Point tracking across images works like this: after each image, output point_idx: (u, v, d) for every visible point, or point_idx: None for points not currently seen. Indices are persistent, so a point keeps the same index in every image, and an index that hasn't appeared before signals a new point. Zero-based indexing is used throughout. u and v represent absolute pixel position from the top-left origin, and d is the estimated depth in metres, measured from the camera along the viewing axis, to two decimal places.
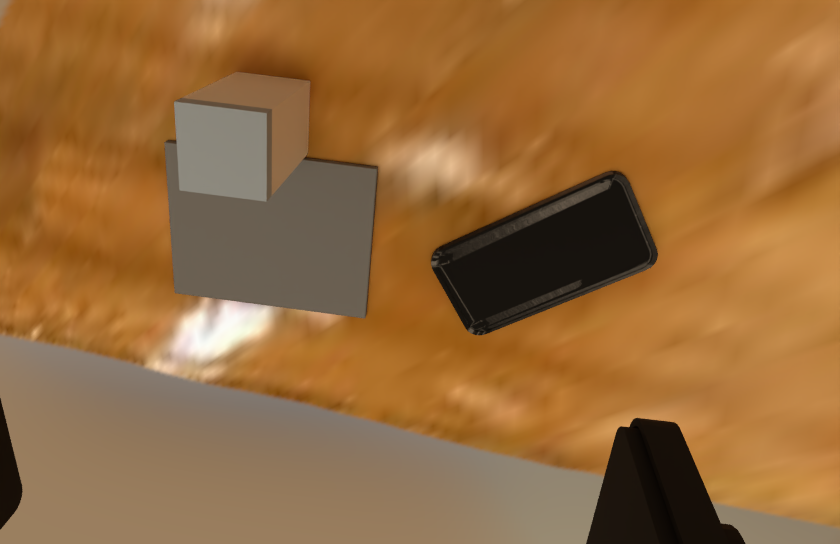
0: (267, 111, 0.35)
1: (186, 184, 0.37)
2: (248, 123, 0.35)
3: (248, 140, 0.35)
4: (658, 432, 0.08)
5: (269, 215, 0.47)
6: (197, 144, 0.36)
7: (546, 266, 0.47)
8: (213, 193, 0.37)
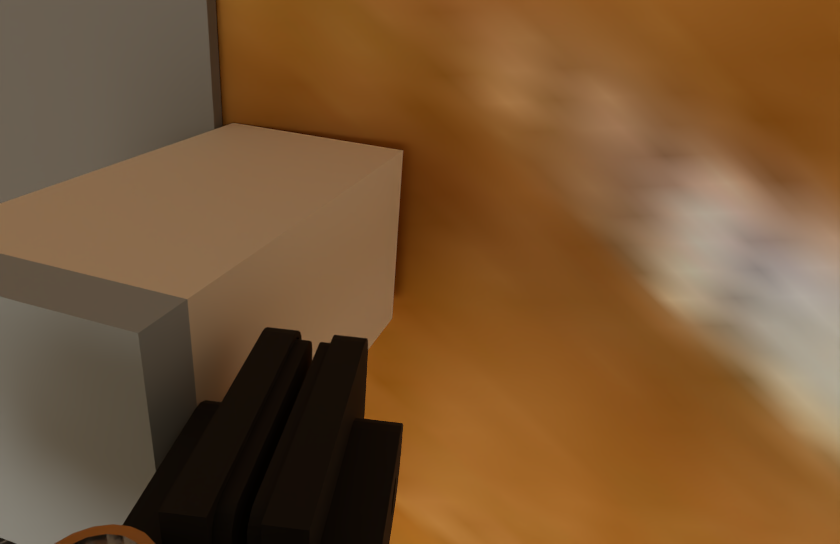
0: None
1: None
2: None
3: (80, 527, 0.10)
4: (343, 344, 0.10)
5: None
6: (17, 368, 0.09)
7: None
8: None
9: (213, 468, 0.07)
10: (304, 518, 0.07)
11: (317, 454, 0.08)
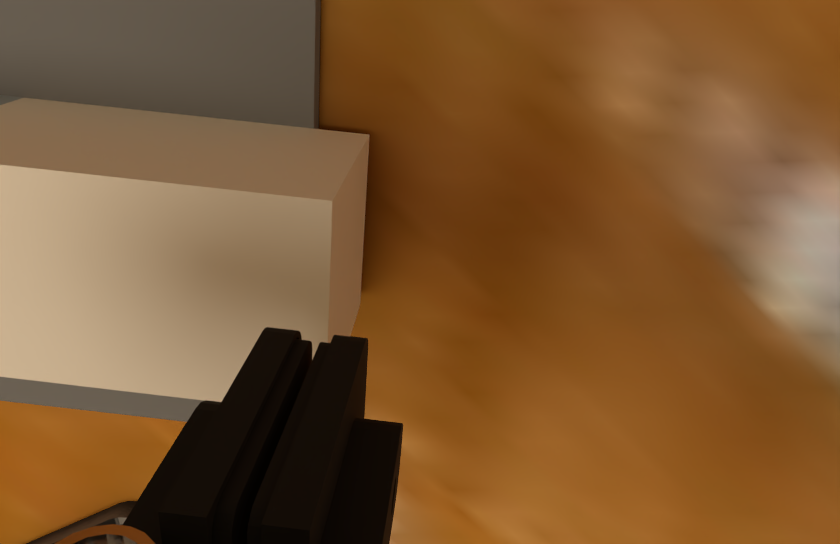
0: None
1: None
2: None
3: None
4: (343, 343, 0.10)
5: None
6: None
7: None
8: None
9: (213, 468, 0.07)
10: (303, 517, 0.07)
11: (317, 454, 0.08)
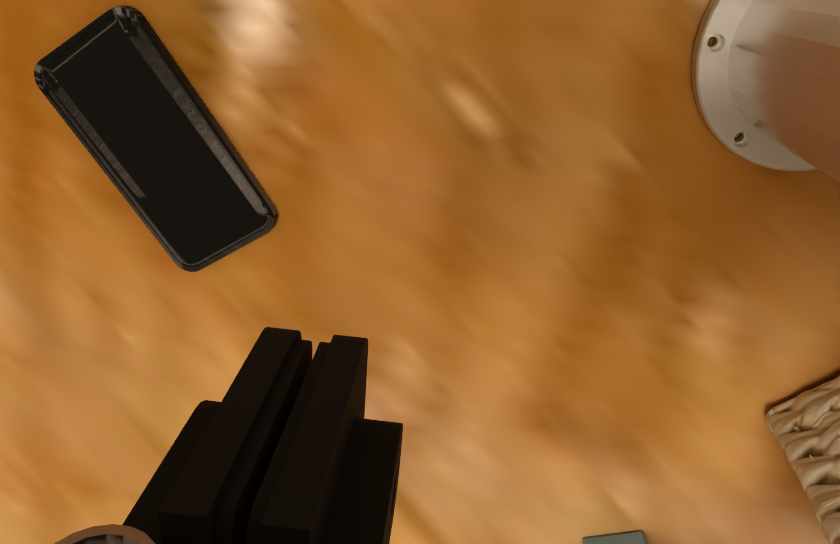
0: None
1: None
2: None
3: None
4: (342, 343, 0.10)
5: None
6: None
7: (151, 156, 0.39)
8: None
9: (213, 468, 0.07)
10: (303, 518, 0.07)
11: (317, 454, 0.08)
